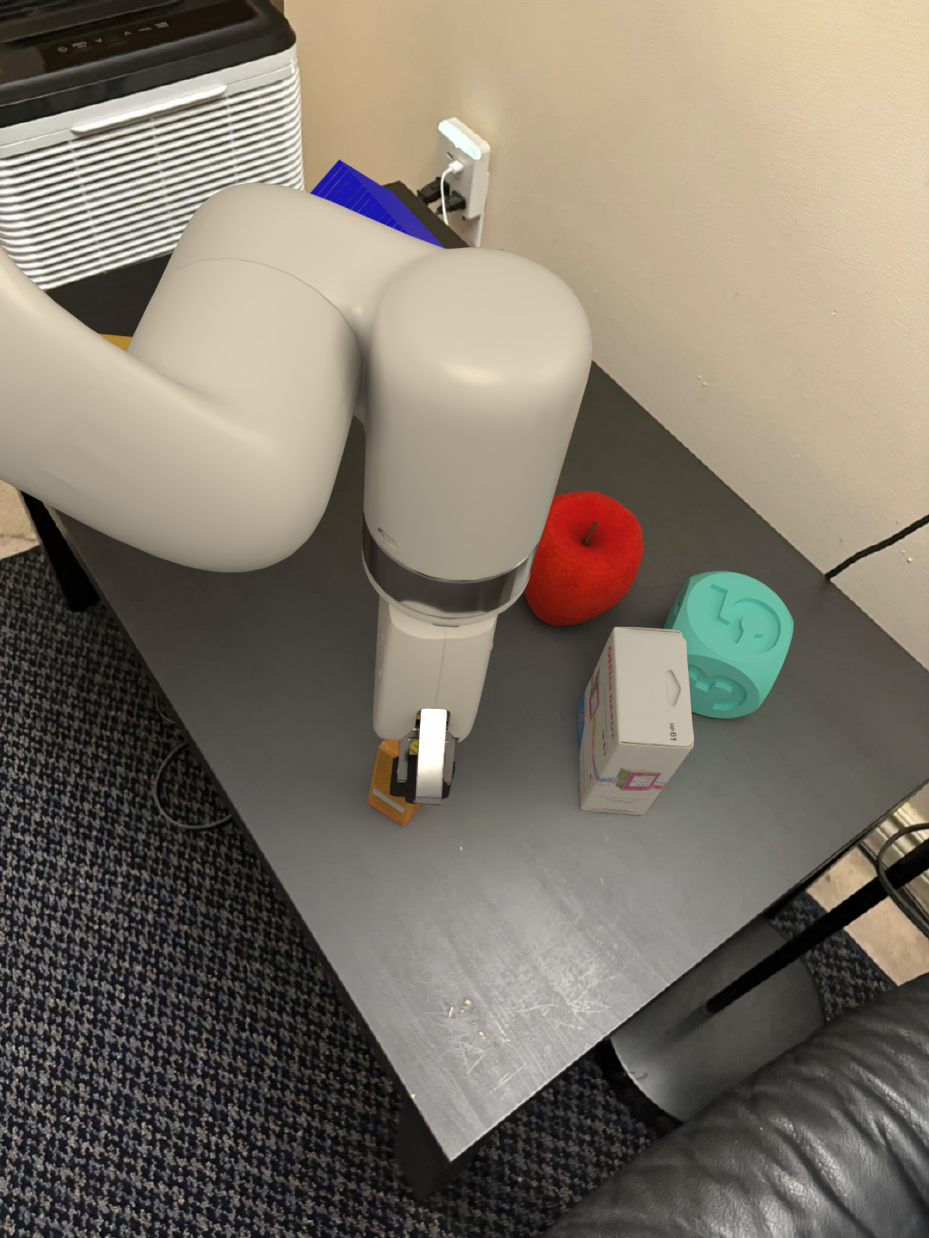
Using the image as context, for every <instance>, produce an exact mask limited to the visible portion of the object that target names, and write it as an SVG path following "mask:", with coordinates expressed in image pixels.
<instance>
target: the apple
mask: <svg viewBox="0 0 929 1238" xmlns="http://www.w3.org/2000/svg"><path fill="white" fill-rule="evenodd" d="M643 554H644V540H643V530H642V526H641V524H640V523H639V521H638V519H637V516H636V515H635V514H634V513H632V512H631V511H630V510H629V509H628V508H626V507H625V506H624V505H623V504H622V503H621V502H619V501H618V500H617V499H616V498H613V497H611V496H608V495H606V494H604V493H602V492H599V491H595V490H577V491H572V492H567V493H560V494H556V495H554V497H553V500H552V503H551V507H550V510H549V514H548V517H547V520H546V524H545V526H544V529H543V534H542V538H541V541H540V544H539V548H538V551H537V555H536V558H535V561H534V565H533V568H532V571H531V575H530V578H529V581H528V583H527V586H526V588H525V590H524V591H523V593H524V594H525V597H526V601H527V603H528V605H529V608H531V610H532V612H533V613H534V615H535V616H536V618H537V619H539V620H541V621H543V622H544V623H546V624H548V625H549V626H552V627H553V626H554V627H566V626H567V627H568V626H574V625H578V624H583V623H586V622H589V621H591V620H593V619H594V618H596V617H598V616H600V615H602V614H604V613H606V612H608V611H609V610H611V609H612V608H613V607H615V606H617V605H618V603H620V601H621V600H622V599H623V598H624V597H625V596H626V594H627V593H628V592H629V591H630V589H631V588H632V586H633V583H634V582H635V579H636V577H637V574H638V571H639V569H640V566H641V564H642V559H643Z"/></svg>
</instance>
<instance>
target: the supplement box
mask: <svg viewBox="0 0 929 1238" xmlns="http://www.w3.org/2000/svg"><path fill="white" fill-rule="evenodd" d="M417 719H420V714H418V713H417ZM399 743H400V740H398V741H395V740H387V739H383V741H382V742H381V743H379V745H378V748H377V751H376V757H375V761H374V766H373V770H372V776H371V781H370V786H369V791H368V796H367V804H368V805H370V807H373V808H374V809H375V810H376V811H379V812H380V813H381V814H383V815H385V816H386V817H388V818H390V819H391V820H393V821H394V822H395V823H396V824H398V825H400V826H401V827H406V826H407V825H408V824H409V823H410V821H411V820H412V818H414V816H415V815H416V813H417V812H418V810H419V809H420V807H421V806H422V805H415V804H410V803H407V802H406V801H405V797H395V796H391V795H390V781H391V772H392V763H393V758H396V757H397V756H399ZM417 750H418V739H412V738H411V742H410V754H412V755H417Z"/></svg>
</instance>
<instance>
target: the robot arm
mask: <svg viewBox="0 0 929 1238" xmlns="http://www.w3.org/2000/svg"><path fill="white" fill-rule="evenodd" d="M444 248H445V247H444ZM444 248H442V247H439V246H436V245H434V244H431V243H428V242H426V241H423V240H420V239H418V238H415V237H412V236H410V235H407V234H405V233H403V232H400V231H398V230H396V229H393V228H391V227H389V226H386V225H384V224H382V223H379V222H377V221H375V220H372V219H370V218H368V217H365V216H363V215H361V214H359V213H357V212H354V211H352V210H350V209H348V208H345V207H343V206H340V205H338V204H336V203H333V202H331V201H329V200H326V199H323V198H321V197H318V196H315V195H313V194H310V192H308V191H304V190H301V189H298V188H294V187H290V186H287V185H283V184H277V183H276V184H275V183H267V182H244V183H239V184H234V185H231V186H227V187H225V188H223V189H220V190H219V191H217V192H215V193H213V194H212V195H211V196H210V197H209V198H207V199H206V200H205V201H204V202H202V203H201V204H200V205H199V206H198V207H197V209H196V210H195V212H194V213H193V214H192V216H191V218H190V220H188V222H187V224H186V225H185V226H184V229H183V230H182V233H181V235H180V237H179V239H178V241H177V243H176V245H175V247H174V249H173V252H172V253H171V256H170V258H169V260H168V263H167V264H166V267H165V269H164V271H163V273H162V276H161V278H160V280H159V282H158V283H157V287H156V288H155V291H154V292H153V295H151V298H150V300H149V302H148V304H147V306H146V308H145V310H144V311H143V312H144V313H143V315H142V317H141V319H140V321H139V323H138V325H137V327H136V329H135V331H134V333H133V334H132V335H133V336H131V337H132V339H131V341H130V343H129V346H128V348H127V350H126V352H125V351H124V350H122V349H121V348H119V347H117V346H116V345H114V344H113V343H111V342H110V341H108V340H107V339H105V338H104V337H102V336H101V335H99V334H100V333H98V332H96V331H95V330H93V329H92V328H90V327H88V325H86V324H85V323H84V322H82V321H81V320H80V319H78V318H77V317H76V316H74V315H73V314H72V313H70V312H69V311H68V310H67V309H65V308H64V307H62V306H61V305H60V304H59V303H57V302H56V301H55V300H54V299H52V297H50V295H49V294H47V293H46V292H45V291H44V290H43V289H42V288H41V287H39V285H37V284H36V283H35V282H34V281H33V279H31V278H30V277H29V276H28V275H27V274H26V273H25V272H24V271H23V270H22V269H21V268H20V267H19V266H18V265H17V264H16V262H15V261H14V260H13V258H11V257H10V255H9V254H8V253H7V252H6V251H5V249H4V248H3V247H2V246H1V245H0V481H2V482H4V483H6V484H8V485H10V486H11V487H13V488H16V489H17V490H19V491H21V492H24V493H25V494H28V495H29V496H30V497H32V498H35V499H37V500H38V501H40V502H42V503H44V504H46V505H48V506H50V507H52V508H54V509H55V510H57V511H59V512H61V513H63V514H65V515H67V516H69V517H71V519H74V520H76V521H77V522H80V523H81V524H83V525H86V526H88V527H90V528H91V529H93V530H96V531H98V532H100V533H102V534H104V535H105V536H108V537H109V538H112V539H113V540H116V541H118V542H122V543H124V544H126V545H128V546H131V547H133V548H135V549H138V550H140V551H143V552H144V553H147V554H149V555H151V556H153V557H156V558H159V559H162V560H166V561H169V562H171V563H174V564H177V565H181V566H184V567H188V568H193V569H196V570H202V571H209V572H215V573H245V572H252V571H257V570H262V569H266V568H269V567H271V566H274V565H276V564H278V563H280V562H282V561H283V560H285V559H287V558H289V557H290V556H292V555H293V554H295V552H297V551H298V549H300V548H301V547H302V546H303V545H304V544H305V543H306V542H307V541H308V540H309V538H310V537H311V536H312V535H313V533H314V532H315V530H316V528H317V527H318V525H319V523H320V522H321V520H322V518H323V516H324V514H325V513H326V509H327V507H328V504H329V502H330V499H331V495H332V492H333V489H334V486H335V483H336V479H337V475H338V472H339V469H340V465H341V461H342V457H343V455H344V451H345V448H346V443H347V440H348V436H349V432H350V428H351V425H352V420H353V417H355V418H356V419H357V420H358V421H359V422H360V423H361V425H362V426H363V430H364V435H365V456H364V457H365V458H364V483H363V484H364V486H363V487H364V489H363V507H362V534H361V535H362V538H361V559H362V565H363V568H364V573H365V574H366V576H367V579H368V581H369V583H370V585H371V586H372V587H373V588H374V590H375V591H376V593H377V594H378V595H379V596H378V597H379V598H378V610H377V611H378V613H377V632H376V647H375V649H376V650H375V666H374V667H375V668H374V687H373V706H372V707H373V708H372V730H374V731H373V732H374V733H375V734H376V735H377V736H378V737H379V739H381V740H385V739H387V740H395V741H398V740H400V743H399V756H397V757H396V758H393V763H392V772H391V781H390V795H391V796H395V797H405V801H406V802H407V803H410V804H415V805H421V806H431V807H433V806H434V807H441V806H442V801H443V800H446V799H448V798H449V796H450V793H451V788H452V785H453V781H454V776H455V772H456V761H455V749H456V743H457V744H459V743H461V742H462V741H463V740H465V739H466V738H467V737H468V736H469V734H470V733H471V731H472V729H473V726H474V723H475V721H476V717H477V715H478V710H479V705H480V702H481V697H482V693H483V689H484V685H485V680H486V675H487V671H488V667H489V661H490V657H491V652H492V650H493V647H494V637H495V632H496V626H497V622H498V617H499V615H500V614H501V613H504V612H505V611H506V610H507V609H509V608H510V607H511V606H512V605H513V604H515V602H517V600H518V599H519V598H520V597H521V596H522V594H523V593H524V590H525V588H526V586H527V583H528V581H529V578H530V575H531V571H532V568H533V565H534V561H535V558H536V555H537V551H538V548H539V544H540V541H541V538H542V534H543V529H544V526H545V524H546V520H547V517H548V514H549V510H550V507H551V503H552V500H553V498H554V497H555V493H556V489H557V487H558V483H559V479H560V476H561V472H562V469H563V466H564V462H565V458H566V455H567V452H568V449H569V445H570V442H571V438H572V435H573V431H574V428H575V424H576V422H577V418H578V416H579V415H578V414H579V411H580V408H581V404H582V401H583V397H584V395H585V391H586V386H587V383H588V380H589V375H590V371H591V366H592V362H593V351H594V349H593V347H594V346H593V344H594V343H593V337H592V336H593V335H592V330H591V325H590V320H589V318H588V316H587V313H586V310H585V308H584V306H583V304H582V303H581V301H580V300H579V298H578V296H577V295H576V294H575V292H574V291H573V289H572V288H571V287H570V286H569V284H567V283H566V282H565V281H564V280H563V279H562V278H561V277H559V276H558V275H557V274H556V273H554V272H553V271H551V270H550V269H548V268H547V267H545V266H544V265H541V264H540V263H538V262H536V261H534V260H533V259H531V258H528V257H525V256H522V255H520V254H517V253H514V252H510V251H507V250H503V249H496V248H490V247H476V246H475V247H472V246H469V247H458V248H457V247H456V248H455V247H454V248H445V249H444ZM418 712H419V716H420V719H417V714H418ZM411 738H412V739H418V750H417V755H412V754H410V742H411Z"/></svg>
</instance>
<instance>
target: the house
mask: <svg viewBox="0 0 929 1238" xmlns="http://www.w3.org/2000/svg"><path fill="white" fill-rule="evenodd" d="M309 193H310V194H313V195H315V196H318V197H321V198H323V199H326V200H329V201H331V202H333V203H336V204H338V205H340V206H343V207H345V208H348V209H350V210H352V211H354V212H357V213H359V214H361V215H363V216H365V217H368V218H370V219H372V220H375V221H377V222H379V223H382V224H384V225H386V226H389V227H391V228H393V229H396V230H398V231H400V232H403V233H405V234H407V235H410V236H412V237H415V238H418V239H420V240H423V241H426V242H428V243H431V244H434V245H436V246H439V247H442V248H444V249H446V247H444V246H443V244H442V243H441V242H440V241H439V240H438V239H437V238H436V237H435V236H434V234H432V232H431V231H430V230H429V229H428V228H427V227H426V226H425V225H424V224H423V223H422V222H421V221H420V220H419V219H418V218H417V216H416V215H415V214H414V213H413V212H412V211H411V210H410V209H409V208H408V207H407V206H406V205H405V204H404V202H402V201H401V199H400V198H399V197H398V196H397V195H396V193H394V192H393V191H391V190H389V189H388V188H386V187H385V186H383V185H382V184H380V183H378V182H376V181H375V180H374V179H371V178H370V177H369V176H367V175H365V174H364V173H362V172H360V171H359V170H358V169H356V168H354V167H352V166H351V165H349V164H348V163H346V162H344V161H343V160H341V159H338V160H337V161H336V162H335V164H334V165H333V166H332V167H331V168H330V169H329V171H327V173H326V174H325V175H324V176H323V177H322V179H320V180H319V181H318V183H317V184H316V185H315V186H314V188H313V189H312V190H311V191H310V192H309Z"/></svg>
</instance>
